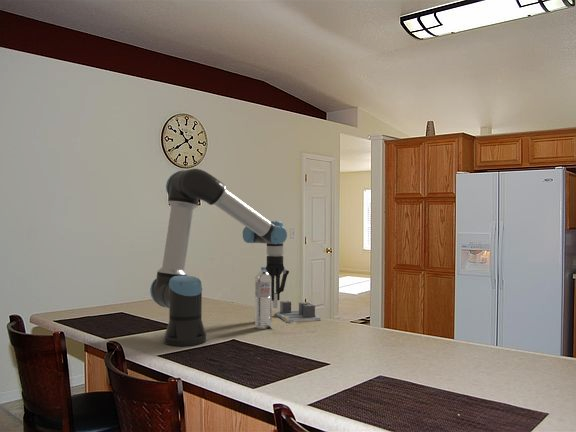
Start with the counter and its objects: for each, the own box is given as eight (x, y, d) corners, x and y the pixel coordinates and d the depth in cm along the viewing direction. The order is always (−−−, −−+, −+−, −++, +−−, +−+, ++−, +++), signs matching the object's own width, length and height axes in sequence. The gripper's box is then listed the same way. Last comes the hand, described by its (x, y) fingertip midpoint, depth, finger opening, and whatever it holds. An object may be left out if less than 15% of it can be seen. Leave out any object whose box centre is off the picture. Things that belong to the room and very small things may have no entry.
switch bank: (320, 323, 213) (320, 317, 213) (287, 325, 209) (287, 319, 209) (305, 315, 231) (305, 309, 231) (275, 317, 227) (275, 311, 227)
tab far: (291, 315, 224) (291, 301, 224) (282, 316, 222) (282, 302, 222) (288, 314, 227) (288, 300, 227) (280, 314, 226) (280, 301, 226)
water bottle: (272, 326, 208) (272, 266, 209) (270, 329, 202) (270, 268, 202) (256, 325, 209) (256, 266, 209) (253, 329, 202) (253, 268, 202)
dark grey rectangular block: (315, 319, 214) (315, 305, 214) (306, 320, 213) (306, 306, 213) (311, 318, 218) (311, 304, 218) (303, 318, 217) (303, 304, 217)
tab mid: (310, 317, 220) (310, 303, 220) (301, 317, 219) (301, 303, 219) (307, 315, 224) (307, 301, 224) (298, 316, 222) (298, 302, 223)
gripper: (286, 254, 229) (286, 305, 229) (258, 255, 225) (258, 307, 225) (291, 255, 222) (291, 308, 222) (263, 256, 218) (263, 310, 218)
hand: (275, 307), depth 223 cm, fingers closed
